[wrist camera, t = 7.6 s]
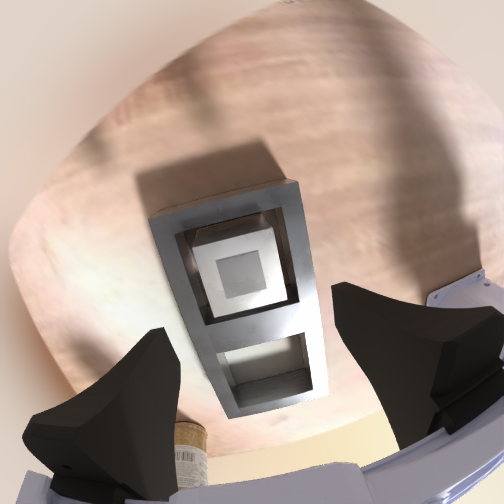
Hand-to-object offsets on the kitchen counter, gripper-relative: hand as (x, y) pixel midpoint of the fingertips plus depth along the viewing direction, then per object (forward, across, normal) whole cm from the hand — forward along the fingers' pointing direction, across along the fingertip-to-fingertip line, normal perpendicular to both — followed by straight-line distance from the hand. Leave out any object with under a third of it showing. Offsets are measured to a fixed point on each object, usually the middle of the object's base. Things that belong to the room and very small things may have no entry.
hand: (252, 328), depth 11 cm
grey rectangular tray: (+9, 0, +4) cm, 10 cm away
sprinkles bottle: (+10, +10, +18) cm, 23 cm away
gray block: (+10, 0, 0) cm, 10 cm away
